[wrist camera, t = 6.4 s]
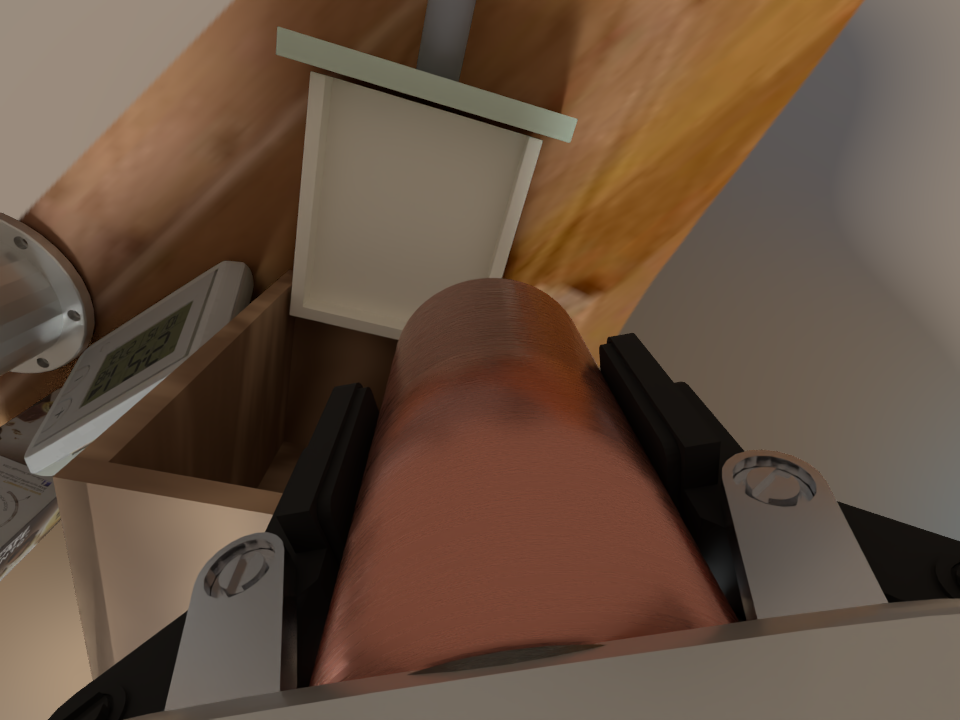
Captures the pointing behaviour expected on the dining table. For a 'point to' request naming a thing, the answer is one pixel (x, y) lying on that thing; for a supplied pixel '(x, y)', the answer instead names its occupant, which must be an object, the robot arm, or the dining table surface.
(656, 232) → the dining table surface
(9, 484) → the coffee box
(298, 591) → the robot arm
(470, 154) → the green drawer
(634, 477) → the tea tin
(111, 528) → the drawer cabinet
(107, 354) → the digital clock
